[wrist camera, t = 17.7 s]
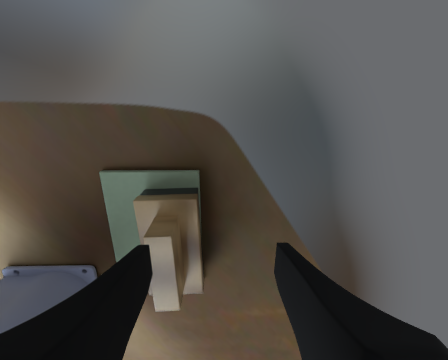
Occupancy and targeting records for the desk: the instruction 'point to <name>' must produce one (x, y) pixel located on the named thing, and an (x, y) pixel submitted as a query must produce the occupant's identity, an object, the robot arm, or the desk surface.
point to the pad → (125, 194)
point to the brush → (171, 243)
